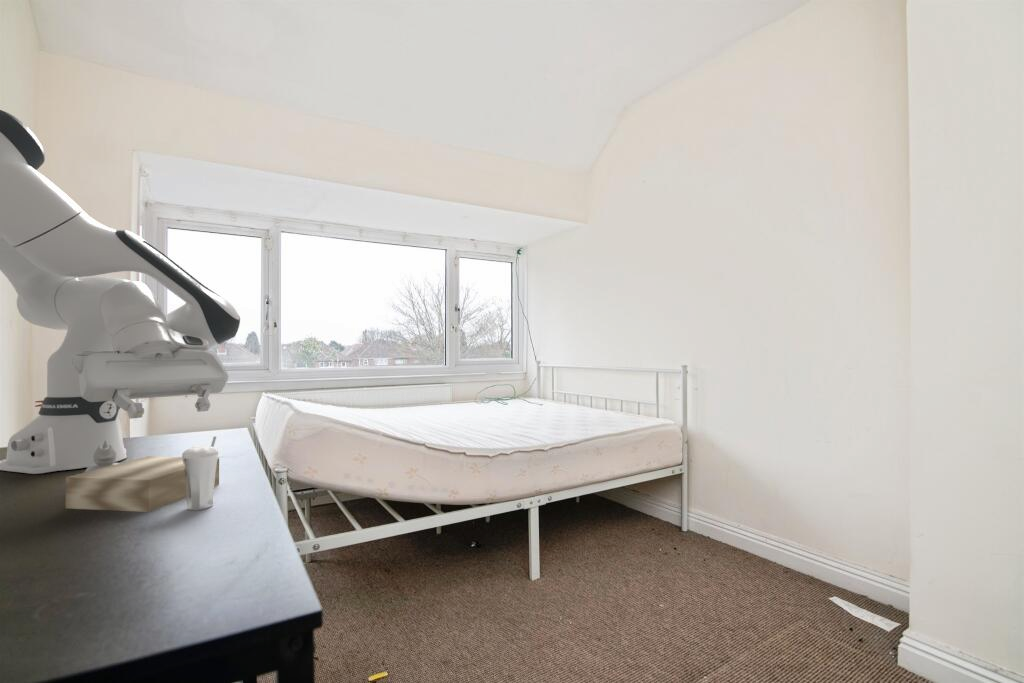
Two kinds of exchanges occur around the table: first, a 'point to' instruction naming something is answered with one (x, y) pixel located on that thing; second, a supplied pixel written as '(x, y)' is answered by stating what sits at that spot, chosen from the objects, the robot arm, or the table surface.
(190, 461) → the milkshake
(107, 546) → the table surface
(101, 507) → the block
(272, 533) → the table surface
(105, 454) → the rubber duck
